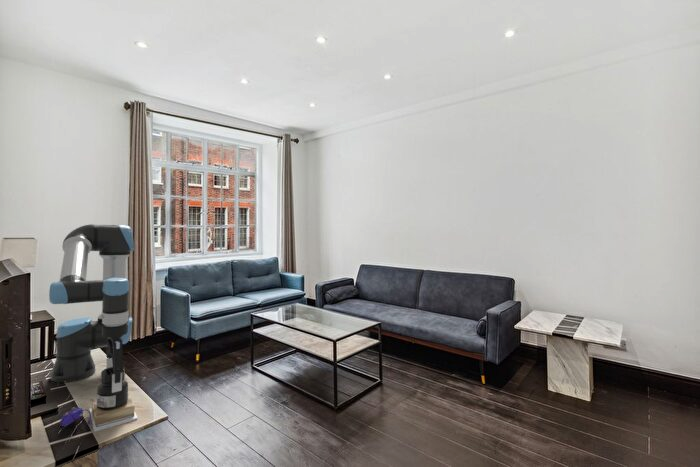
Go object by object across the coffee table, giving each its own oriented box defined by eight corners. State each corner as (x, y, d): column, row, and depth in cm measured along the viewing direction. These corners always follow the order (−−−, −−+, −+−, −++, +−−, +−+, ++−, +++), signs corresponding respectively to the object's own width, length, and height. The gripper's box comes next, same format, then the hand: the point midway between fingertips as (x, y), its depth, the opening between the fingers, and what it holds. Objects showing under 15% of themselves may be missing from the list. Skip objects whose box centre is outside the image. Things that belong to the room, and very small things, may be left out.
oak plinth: (91, 411, 123) (92, 402, 122) (128, 401, 130) (128, 393, 130) (95, 425, 114) (95, 416, 114) (134, 414, 122) (134, 405, 121)
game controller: (48, 413, 115) (85, 398, 122) (55, 438, 114) (92, 421, 121) (49, 417, 107) (88, 401, 114) (56, 444, 107) (95, 425, 114)
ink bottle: (90, 406, 120) (91, 372, 119) (117, 395, 128) (117, 362, 127) (107, 414, 116) (108, 378, 115) (134, 402, 124) (134, 368, 123)
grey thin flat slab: (89, 410, 124) (89, 408, 124) (128, 400, 132) (128, 398, 132) (94, 431, 112) (94, 429, 112) (137, 419, 120) (137, 417, 120)
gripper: (97, 315, 128) (96, 372, 129) (107, 335, 109) (105, 402, 110) (121, 312, 133) (120, 367, 134) (134, 331, 114) (133, 395, 115)
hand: (113, 383), depth 122 cm, fingers open, 13 cm apart
